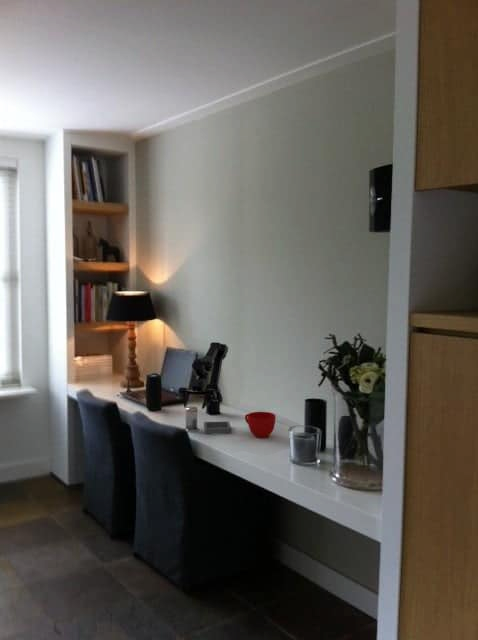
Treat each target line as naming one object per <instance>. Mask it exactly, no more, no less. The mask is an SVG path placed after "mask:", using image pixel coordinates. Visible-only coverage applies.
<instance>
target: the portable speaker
mask: <svg viewBox="0 0 478 640" xmlns="http://www.w3.org/2000/svg"><path fill="white" fill-rule="evenodd" d="M145 380H146V381H145V403H146V405H145V406H146V409H147V410H148V411H149V412H155V411H156V410H159V411H161V410H162V403H163V392H162V391H163V389H162V388H163V387H162V385H163V382H162V375H161V374H159V373H156V372H154V373H150V374H146V379H145Z"/></svg>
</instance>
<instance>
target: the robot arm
mask: <svg viewBox="0 0 478 640" xmlns="http://www.w3.org/2000/svg"><path fill="white" fill-rule="evenodd" d="M209 345H210V346H209V348H208V350H207V351H206V354H205V355H204V356H203V357H201V358H197V360H195V361H193V363H192V364H191V368H192V370H193V372H194V376H196V377H195V378H190V381H189V386H190V389H191V390H189V389H188V387H183V386H181V387H179V388H178V389H177V392H178V394H179V396H180V398H182V399H183V407H184V409H186V407H187V405H188V402H189V397H190V395H192V396H203V402H202V405H201V408H202V410H204V409H205V408H206V409H205V413H207V414H208V415H210V416H212V415H218V414H219V415H220V414H222V412H221V403H223V396H222V393H221V389H220V387H219V383H220V377H221V371H222V365H223V361H224V360H225V358H226V357H227V354H228V353H229V346H228V345H227V344H226V343H221V342H217V341H216V342H214V341H213V342H210V344H209ZM209 373H211V374H210V375H209ZM209 376H210V377H209ZM209 378H210V380H209ZM208 380H209V383H208ZM207 383H208V384H207Z"/></svg>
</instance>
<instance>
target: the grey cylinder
mask: <svg viewBox="0 0 478 640" xmlns="http://www.w3.org/2000/svg"><path fill="white" fill-rule="evenodd" d="M184 429H186V430H187V431H188V432H187V433H196V432H195V431H197V432H198V430H200V429H199V427H198V407H197V406H186V407H185V428H184Z"/></svg>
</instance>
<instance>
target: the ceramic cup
mask: <svg viewBox="0 0 478 640" xmlns="http://www.w3.org/2000/svg"><path fill="white" fill-rule="evenodd" d="M244 420H245V422H246V424H247V425H248V428H249V431H250V432H251V434H252V435H253V436H254V437H255V438H257V439H258V438H259V439H265V438H269V436H270V435H271V434H272V432H273V431H274V429H275V426H276V414H275V413H272V412H268V411H254V412H253V411H252V412H250V413H247V414H245V415H244Z"/></svg>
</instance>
